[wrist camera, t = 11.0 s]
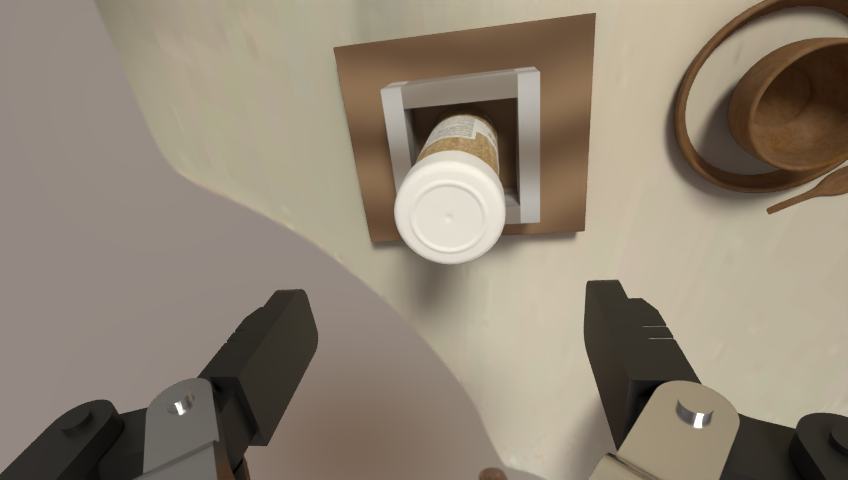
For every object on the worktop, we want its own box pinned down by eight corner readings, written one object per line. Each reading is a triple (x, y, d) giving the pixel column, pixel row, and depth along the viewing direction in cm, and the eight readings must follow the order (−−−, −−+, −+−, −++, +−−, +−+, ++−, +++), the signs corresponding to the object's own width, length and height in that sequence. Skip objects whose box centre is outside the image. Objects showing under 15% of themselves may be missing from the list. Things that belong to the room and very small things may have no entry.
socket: (340, 46, 29) (313, 50, 24) (590, 13, 26) (611, 11, 21) (375, 233, 35) (359, 263, 30) (580, 222, 32) (595, 254, 27)
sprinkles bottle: (500, 167, 29) (510, 265, 17) (435, 174, 30) (402, 272, 18) (495, 98, 27) (501, 156, 15) (425, 108, 28) (381, 170, 16)
